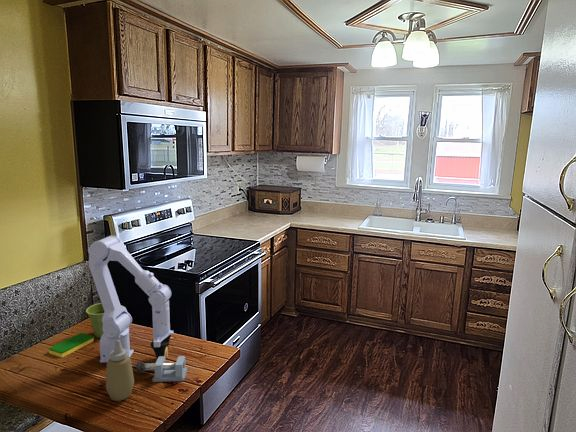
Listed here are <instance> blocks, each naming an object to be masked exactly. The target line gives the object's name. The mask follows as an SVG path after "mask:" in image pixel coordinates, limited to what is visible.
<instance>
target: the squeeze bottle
mask: <svg viewBox="0 0 576 432" xmlns="http://www.w3.org/2000/svg"><path fill="white" fill-rule="evenodd" d="M105 376H106V378H105V389H106V392H107V394H108V396H109V397H110V399H111V400H112V401H113V402H115V401H116V402H120V401H123V400H124V401H125V400H126V399H128V398H129V397H130V396H131V395H132V392H133V387H134V384H135V377H134V371H133V365H132V361H131V356H130V357H129V356H127V351H126V350H125V349H122V346H121V342H120V340H117V341H116V342H115V348H114V350H113V351H112V352H111V353H110V359H109V360H108V362H106V375H105Z"/></svg>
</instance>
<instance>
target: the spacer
mask: <svg viewBox="0 0 576 432" xmlns="http://www.w3.org/2000/svg"><path fill="white" fill-rule="evenodd" d="M168 352H169V346H166V349H165V359H167V358H169V357H168V356H169V353H168Z"/></svg>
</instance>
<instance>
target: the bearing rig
mask: <svg viewBox="0 0 576 432" xmlns="http://www.w3.org/2000/svg"><path fill="white" fill-rule="evenodd" d="M154 363H155V370H154V374H153V376H152V382H153V383H155V382H156V383H158V382H184V381H185V378H186V375H187V373H188V367H187V366H186V356H185V355H178V356H177V360H176V362H175V363H176V364H175V370H163V363H167V362H166V358H165V356H159V357H158V359H157V358H156V361H155V362H154Z"/></svg>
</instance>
